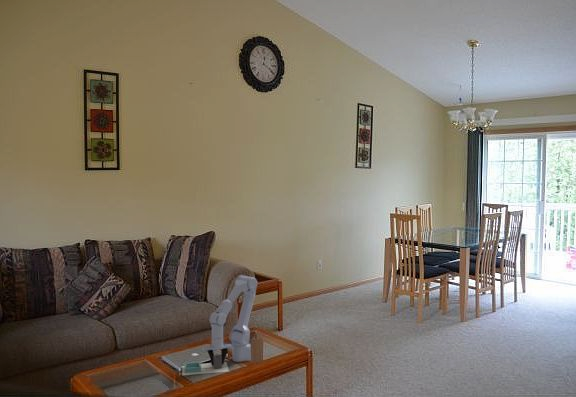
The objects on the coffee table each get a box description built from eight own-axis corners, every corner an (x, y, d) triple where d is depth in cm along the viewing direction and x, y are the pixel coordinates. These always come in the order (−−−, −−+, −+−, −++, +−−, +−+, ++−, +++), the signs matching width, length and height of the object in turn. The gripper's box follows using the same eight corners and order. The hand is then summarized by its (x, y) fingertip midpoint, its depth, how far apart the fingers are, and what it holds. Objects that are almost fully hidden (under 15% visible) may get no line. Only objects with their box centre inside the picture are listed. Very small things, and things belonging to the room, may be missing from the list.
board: (226, 363, 239) (226, 358, 239) (228, 373, 226) (228, 367, 226) (182, 367, 234) (182, 361, 234) (182, 377, 221) (182, 370, 221)
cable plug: (221, 365, 234) (221, 353, 234) (221, 368, 230) (221, 355, 230) (213, 366, 233) (213, 353, 233) (213, 369, 229) (213, 356, 229)
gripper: (230, 333, 237) (230, 360, 238) (201, 336, 232) (201, 363, 233) (233, 337, 231) (233, 364, 231) (203, 340, 226) (203, 368, 226)
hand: (217, 364), depth 231 cm, fingers closed on cable plug, 4 cm apart
